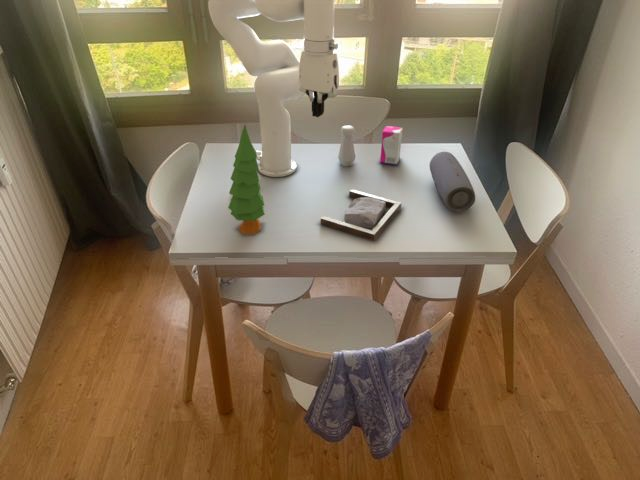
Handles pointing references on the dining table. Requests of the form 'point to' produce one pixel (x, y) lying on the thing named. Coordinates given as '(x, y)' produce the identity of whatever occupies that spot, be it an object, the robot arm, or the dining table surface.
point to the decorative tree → (246, 187)
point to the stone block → (365, 212)
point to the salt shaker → (347, 146)
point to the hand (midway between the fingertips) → (317, 115)
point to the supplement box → (391, 145)
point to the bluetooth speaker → (452, 182)
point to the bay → (361, 231)
